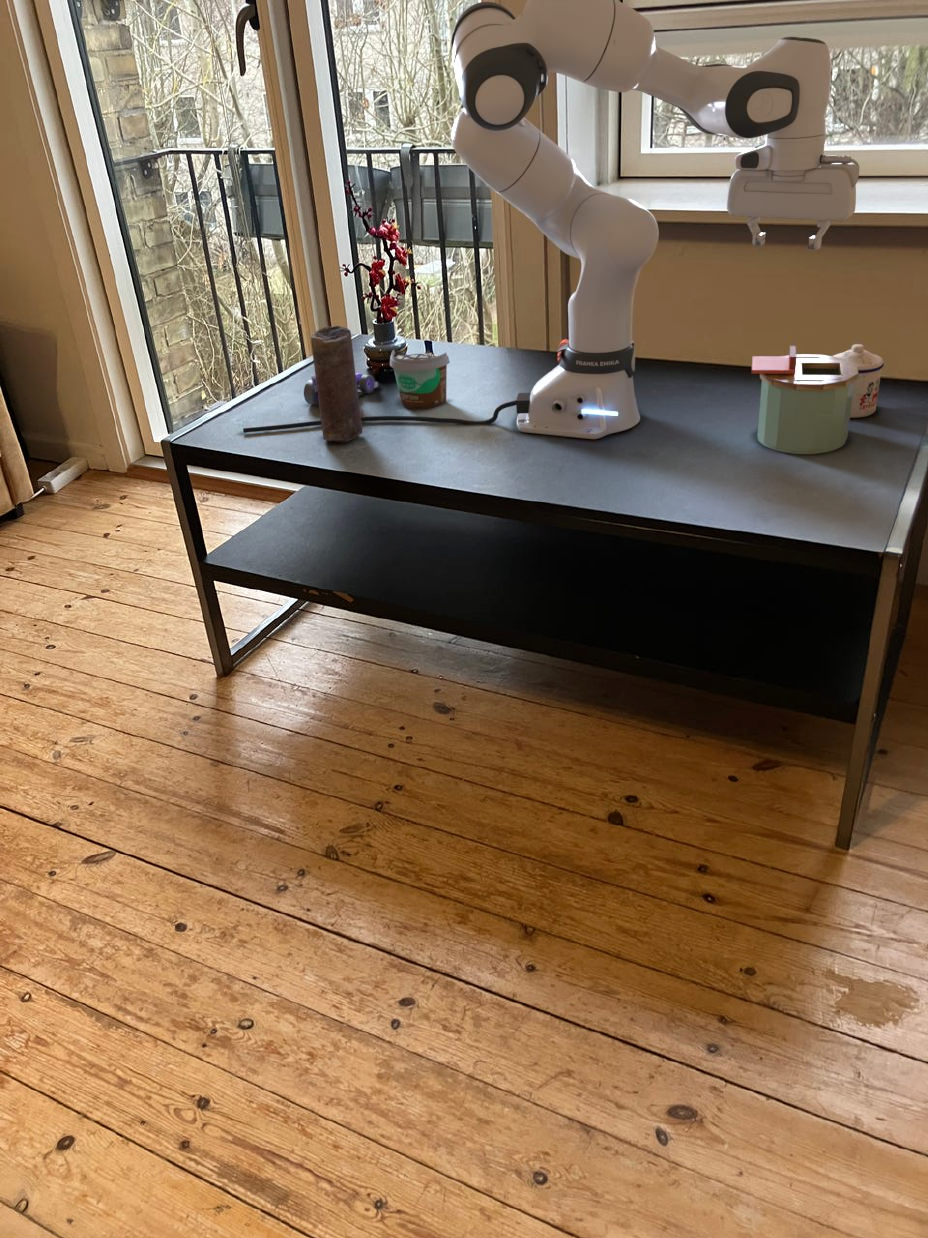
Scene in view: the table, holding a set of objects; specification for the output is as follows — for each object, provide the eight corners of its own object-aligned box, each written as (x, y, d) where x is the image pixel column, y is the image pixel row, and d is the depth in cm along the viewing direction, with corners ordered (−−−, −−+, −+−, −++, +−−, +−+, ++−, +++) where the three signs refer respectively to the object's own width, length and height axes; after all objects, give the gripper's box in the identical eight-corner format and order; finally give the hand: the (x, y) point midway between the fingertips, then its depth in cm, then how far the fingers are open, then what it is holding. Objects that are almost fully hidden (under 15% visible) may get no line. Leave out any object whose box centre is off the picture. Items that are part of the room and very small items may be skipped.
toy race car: (384, 387, 210) (380, 356, 207) (344, 412, 199) (339, 380, 196) (346, 383, 214) (342, 353, 211) (305, 407, 203) (300, 375, 200)
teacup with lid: (867, 422, 174) (877, 355, 168) (815, 414, 179) (822, 349, 173) (888, 399, 183) (897, 336, 176) (837, 393, 187) (845, 330, 181)
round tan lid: (759, 389, 161) (759, 383, 161) (760, 359, 173) (760, 353, 173) (860, 390, 157) (860, 384, 157) (854, 360, 169) (855, 354, 169)
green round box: (756, 453, 167) (761, 388, 161) (758, 421, 179) (762, 360, 173) (848, 455, 163) (857, 390, 158) (843, 422, 175) (851, 360, 169)
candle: (370, 432, 189) (356, 325, 178) (354, 447, 183) (339, 338, 172) (334, 430, 191) (318, 325, 181) (317, 445, 185) (299, 337, 175)
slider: (751, 373, 164) (752, 357, 163) (752, 359, 170) (753, 344, 168) (795, 373, 162) (796, 357, 161) (794, 359, 168) (796, 344, 167)
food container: (383, 408, 199) (377, 359, 194) (397, 398, 204) (391, 349, 199) (441, 412, 195) (436, 362, 189) (453, 401, 199) (448, 352, 194)
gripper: (867, 152, 154) (856, 246, 162) (741, 150, 165) (736, 238, 173) (853, 158, 150) (842, 255, 157) (725, 157, 161) (720, 247, 169)
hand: (786, 246), depth 165 cm, fingers open, 8 cm apart
